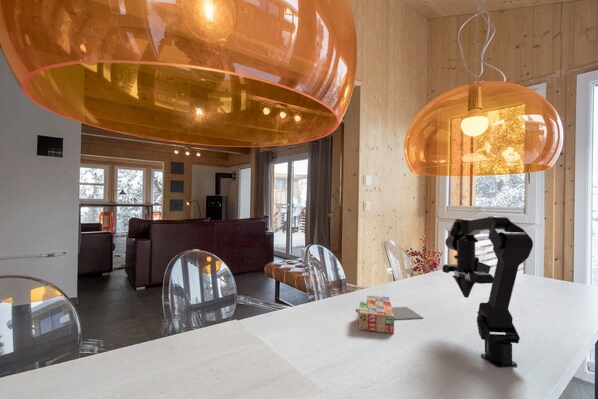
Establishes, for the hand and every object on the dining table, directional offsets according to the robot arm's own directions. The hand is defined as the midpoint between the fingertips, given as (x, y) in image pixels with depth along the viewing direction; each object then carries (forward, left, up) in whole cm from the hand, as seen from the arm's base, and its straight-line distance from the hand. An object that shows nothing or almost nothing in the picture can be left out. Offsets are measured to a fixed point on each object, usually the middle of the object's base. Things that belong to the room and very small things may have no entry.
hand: (466, 297), depth 105 cm
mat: (+22, +19, -13) cm, 32 cm away
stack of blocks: (+13, +22, -10) cm, 27 cm away
